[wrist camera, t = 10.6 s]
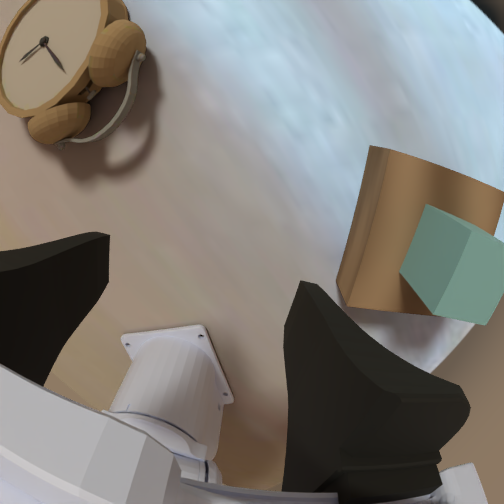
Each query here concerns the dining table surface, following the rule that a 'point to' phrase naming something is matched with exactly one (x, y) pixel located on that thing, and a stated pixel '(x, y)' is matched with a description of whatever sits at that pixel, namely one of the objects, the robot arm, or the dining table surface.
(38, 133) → the alarm clock
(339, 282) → the walnut box
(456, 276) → the teal block
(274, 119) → the dining table surface
